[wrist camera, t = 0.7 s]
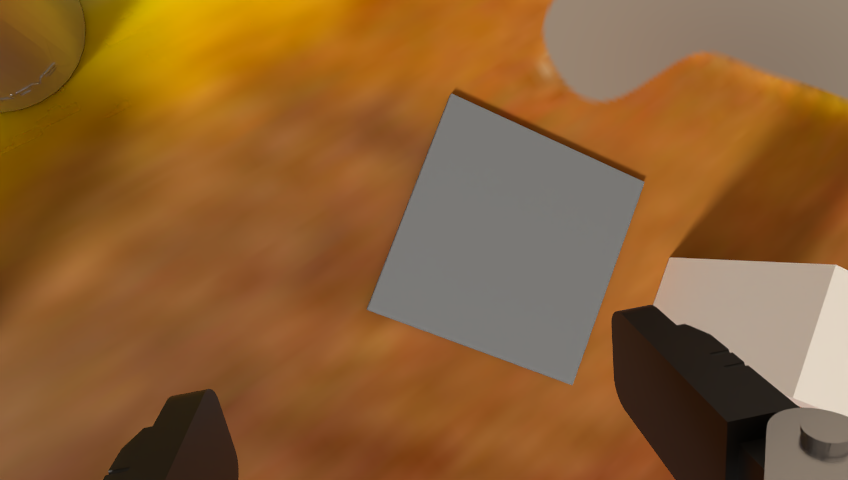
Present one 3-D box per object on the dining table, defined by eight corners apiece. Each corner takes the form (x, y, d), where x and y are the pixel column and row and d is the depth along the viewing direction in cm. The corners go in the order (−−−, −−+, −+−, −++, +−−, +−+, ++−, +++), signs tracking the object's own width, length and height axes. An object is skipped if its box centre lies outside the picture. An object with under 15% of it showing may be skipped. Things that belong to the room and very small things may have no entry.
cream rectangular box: (717, 378, 38) (899, 440, 26) (638, 347, 37) (792, 397, 25) (746, 290, 38) (939, 312, 27) (669, 257, 37) (835, 264, 25)
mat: (366, 309, 33) (367, 309, 33) (450, 95, 34) (451, 93, 34) (569, 383, 36) (572, 385, 35) (641, 182, 37) (644, 181, 36)
